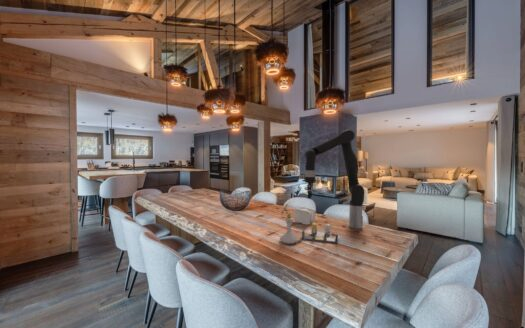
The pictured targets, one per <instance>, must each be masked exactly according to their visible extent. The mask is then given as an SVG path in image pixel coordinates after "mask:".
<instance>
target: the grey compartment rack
mask: <svg viewBox="0 0 525 328" xmlns="http://www.w3.org/2000/svg"><path fill="white" fill-rule="evenodd" d="M305 230H306V229H305V228H303V229H302V232H301V233H302V234H301V240H302V241H307V242H308V241H311V242H318V243H319V242H320V243H328V244H337V245H338V243H339V241H338V240H339V239H338V237H339V234H338V231H335V237H334V238H333V237H327V235H326V231H325V230H324V236H316V235H315V230H314V231H313V234H312V235H305Z"/></svg>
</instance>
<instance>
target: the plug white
mask: <svg viewBox="0 0 525 328" xmlns="http://www.w3.org/2000/svg"><path fill="white" fill-rule="evenodd" d="M325 231H326V237H329V236H331V224H329V223H326V224H324V232H325Z"/></svg>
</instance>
